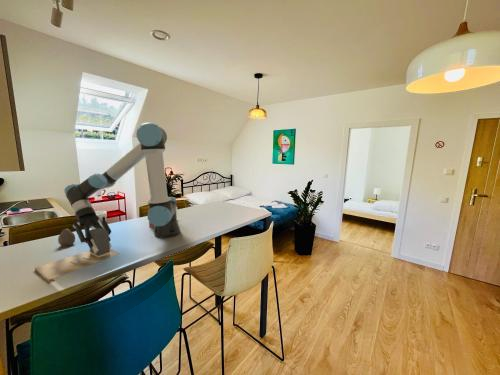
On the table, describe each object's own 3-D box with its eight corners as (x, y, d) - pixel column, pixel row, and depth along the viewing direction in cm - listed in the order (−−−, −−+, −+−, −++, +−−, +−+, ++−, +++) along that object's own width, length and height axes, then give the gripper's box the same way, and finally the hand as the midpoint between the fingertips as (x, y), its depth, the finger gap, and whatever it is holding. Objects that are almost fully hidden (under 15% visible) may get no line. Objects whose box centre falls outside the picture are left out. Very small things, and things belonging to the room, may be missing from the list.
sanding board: (103, 248, 110) (103, 245, 110) (120, 255, 102) (119, 253, 102) (34, 270, 88) (34, 267, 88) (49, 282, 80) (48, 279, 80)
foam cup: (86, 234, 128) (84, 213, 127) (101, 229, 137) (99, 210, 135) (96, 236, 125) (94, 215, 123) (111, 231, 134) (110, 211, 132)
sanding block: (110, 253, 102) (108, 230, 100) (98, 257, 98) (96, 234, 96) (101, 249, 106) (99, 227, 104) (90, 253, 102) (88, 230, 100)
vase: (55, 246, 111) (53, 230, 110) (70, 241, 118) (68, 226, 116) (64, 248, 109) (62, 232, 108) (78, 243, 115) (77, 228, 114)
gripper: (102, 211, 115) (120, 247, 109) (59, 219, 99) (78, 261, 93) (106, 203, 111) (125, 239, 105) (62, 210, 96) (82, 253, 90)
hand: (103, 249), depth 99 cm, fingers closed on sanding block, 5 cm apart
